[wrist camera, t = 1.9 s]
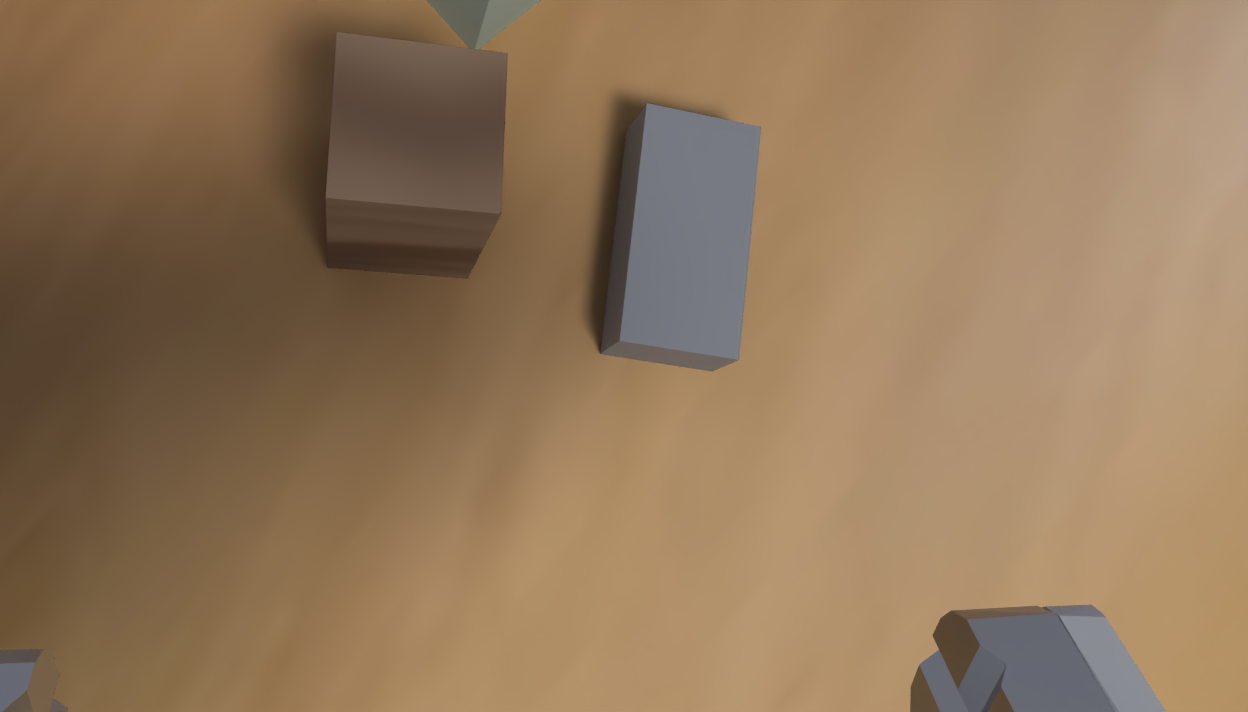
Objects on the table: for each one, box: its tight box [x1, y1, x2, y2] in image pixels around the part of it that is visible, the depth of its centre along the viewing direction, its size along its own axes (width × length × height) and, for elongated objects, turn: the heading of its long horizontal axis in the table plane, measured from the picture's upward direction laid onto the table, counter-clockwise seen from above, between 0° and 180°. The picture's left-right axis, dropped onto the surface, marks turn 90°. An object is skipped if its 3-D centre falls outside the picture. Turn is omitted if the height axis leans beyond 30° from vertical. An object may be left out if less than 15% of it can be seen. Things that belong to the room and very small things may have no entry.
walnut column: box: [326, 32, 508, 278], centre depth 34 cm, size 4×4×8 cm
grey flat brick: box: [600, 103, 761, 371], centre depth 39 cm, size 8×4×3 cm, turn 173°
